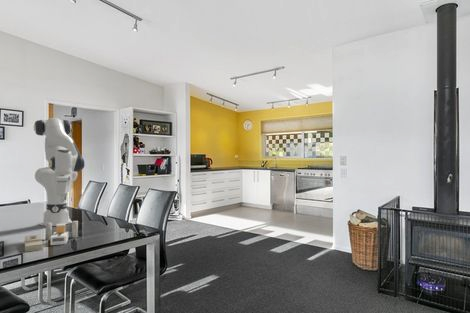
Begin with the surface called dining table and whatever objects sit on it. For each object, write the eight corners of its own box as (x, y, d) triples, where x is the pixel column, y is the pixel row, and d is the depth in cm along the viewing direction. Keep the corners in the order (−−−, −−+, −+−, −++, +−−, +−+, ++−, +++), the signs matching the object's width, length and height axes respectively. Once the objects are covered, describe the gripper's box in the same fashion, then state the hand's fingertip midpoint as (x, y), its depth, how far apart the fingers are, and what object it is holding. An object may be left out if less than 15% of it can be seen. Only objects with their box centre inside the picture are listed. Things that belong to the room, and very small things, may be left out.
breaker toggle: (56, 232, 168) (56, 224, 168) (65, 231, 169) (65, 223, 169) (56, 233, 165) (56, 224, 165) (64, 232, 167) (64, 224, 167)
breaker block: (54, 239, 169) (54, 232, 169) (68, 238, 171) (68, 231, 171) (50, 245, 158) (50, 237, 158) (65, 244, 160) (65, 236, 160)
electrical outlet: (25, 244, 146) (24, 236, 161) (24, 252, 146) (24, 244, 161) (42, 242, 151) (40, 234, 165) (42, 250, 151) (40, 241, 165)
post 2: (72, 236, 175) (72, 221, 175) (78, 236, 176) (78, 220, 176) (71, 237, 172) (71, 222, 173) (77, 237, 174) (77, 221, 174)
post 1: (46, 238, 170) (46, 222, 170) (52, 238, 171) (52, 222, 171) (45, 240, 167) (45, 223, 168) (51, 239, 169) (51, 223, 169)
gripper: (60, 176, 185) (60, 199, 185) (54, 178, 166) (54, 203, 166) (71, 176, 188) (71, 198, 187) (67, 178, 169) (67, 203, 168)
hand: (63, 201), depth 177 cm, fingers open, 8 cm apart
